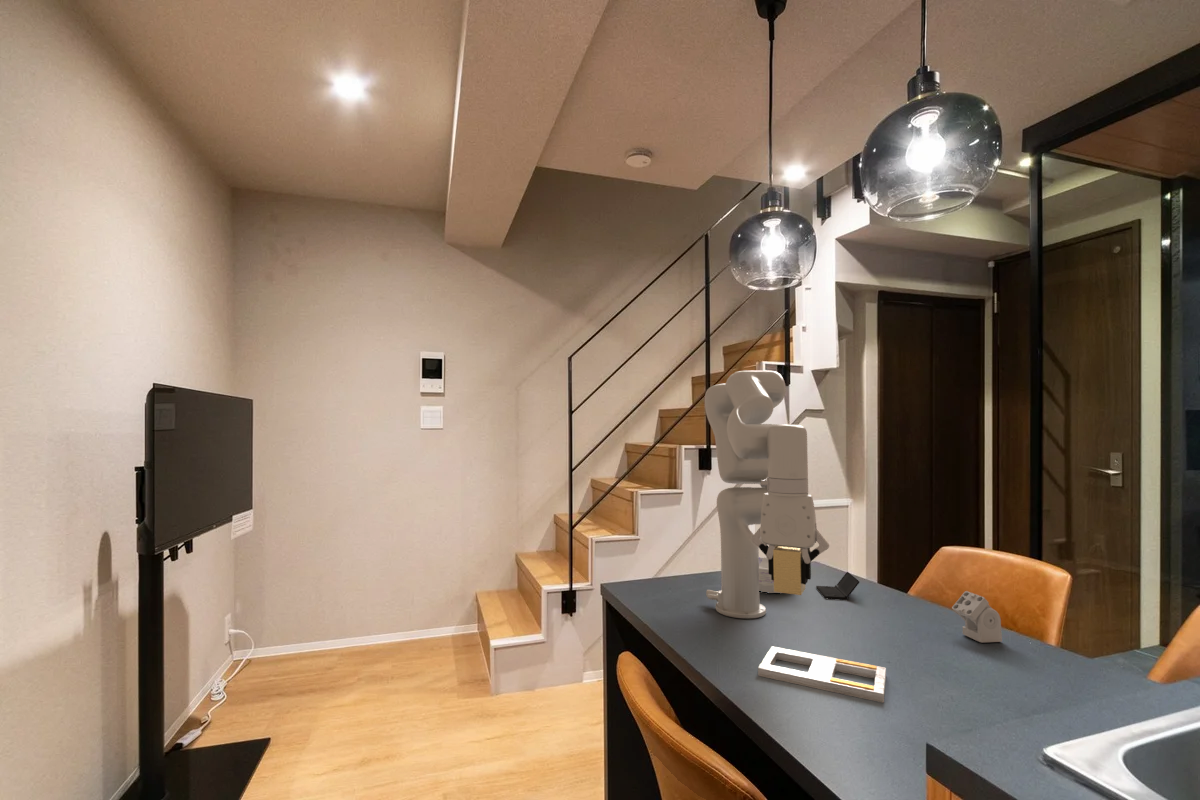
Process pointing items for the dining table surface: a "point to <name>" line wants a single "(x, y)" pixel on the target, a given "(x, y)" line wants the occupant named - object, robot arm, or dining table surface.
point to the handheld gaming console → (840, 588)
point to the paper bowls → (765, 576)
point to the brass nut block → (788, 570)
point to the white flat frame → (824, 673)
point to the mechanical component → (978, 618)
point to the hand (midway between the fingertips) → (789, 579)
